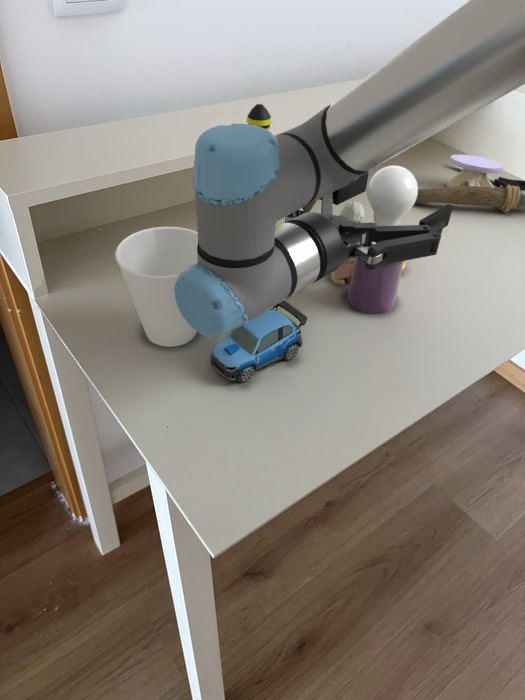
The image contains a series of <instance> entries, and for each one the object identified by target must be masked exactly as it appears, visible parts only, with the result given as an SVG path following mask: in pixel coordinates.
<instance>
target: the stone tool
mask: <svg viewBox="0 0 525 700" xmlns="http://www.w3.org/2000/svg"><path fill="white" fill-rule="evenodd" d="M432 203H433V204H436V203H437V204H449V205H461V206H475V207H476V206H477V207H489V208H497V209H499V210H501V211H502V212H503V213H508V212H510V211H511V209H520V210H525V190H520V188H519V186H510V185H509V184H508V185H507V186H506V188H502V185H501V186H499V187H495V186H494V187H481V186H477V185H474V186H469V185H461V186H453V187H448V186H442V187H428V188H427V187H426V188H425V187H424V188H418V195H417V199H416V201H415V203H414V204H432Z"/></svg>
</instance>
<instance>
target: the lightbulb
mask: <svg viewBox="0 0 525 700" xmlns="http://www.w3.org/2000/svg"><path fill="white" fill-rule="evenodd" d="M418 189H419V184H418V181H417V178H416V176H415V175H414V174H413V173H412V172H411V170H409V169H408V168H406V167H404V166H402V165H401V166H400V165H387V166H384V167H382V168H380V169H379V170H377V171H376V172H375V173H373V175H372V177H371V178H370V179H369V182H368V183H367V188H366V197H367V200H368V204H369V206H370V208H371V209H372V212H373V216H374V217H373V222H374V223H375V226H399V224H400V222H401V220H402V218H403V216H404V215H406V214H407V213H408V212H409V211H410V210H411V209H412V208H413V207H414V205H415V204H416V203H415V201H416V199H417V195H418Z"/></svg>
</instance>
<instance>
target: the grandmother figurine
mask: <svg viewBox="0 0 525 700" xmlns="http://www.w3.org/2000/svg"><path fill="white" fill-rule="evenodd" d="M340 215H341V216H343V217H345V218H346V219H348V220H350V221H354V222H356V223H362V221H364V218H365V209H364V207H363V204H361V202H359V201H351V202H348V203H346V204H345V205H344V206H343V207H342V209H341V210H340ZM363 234H366V232H362V235H363ZM353 263H354V258H349V259H346V260H344V262H343V263H342V264H341V265H340V266H339V267H338V268H337V269H336V270H335V271H334V272H333V273H332V274H331V276H330V279H331V281H332V282H333V284H335V285H337V286H343V285H345V283H346V281H345V279H347V283H348V284H350V281H351V275H352V269H353Z"/></svg>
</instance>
